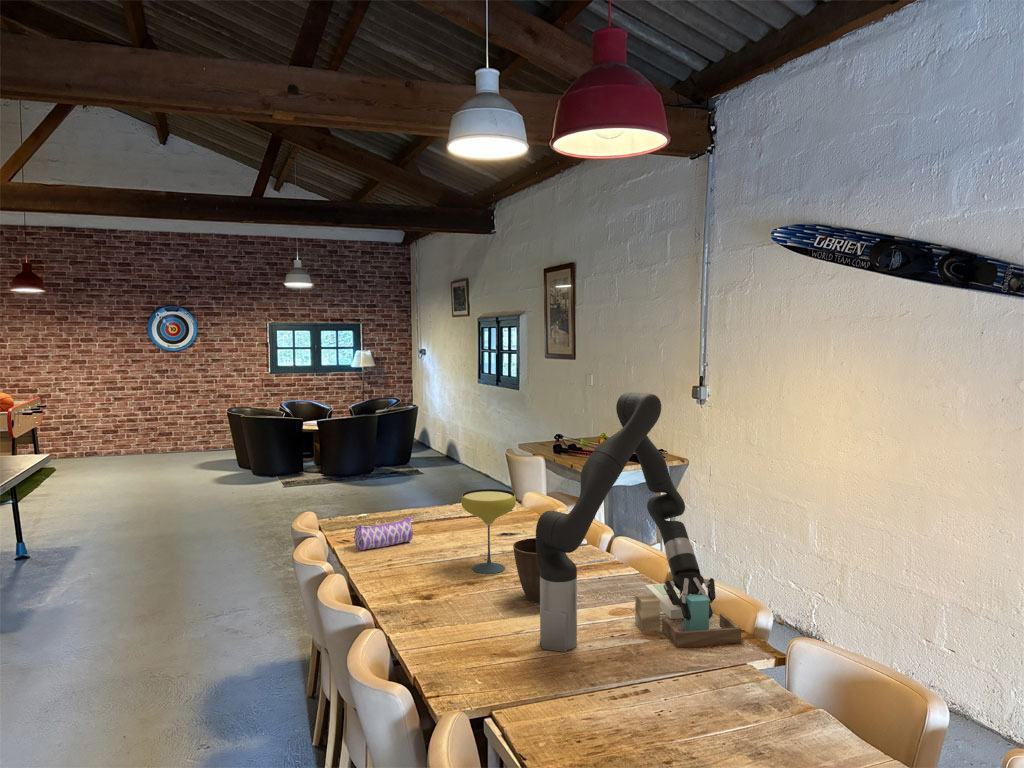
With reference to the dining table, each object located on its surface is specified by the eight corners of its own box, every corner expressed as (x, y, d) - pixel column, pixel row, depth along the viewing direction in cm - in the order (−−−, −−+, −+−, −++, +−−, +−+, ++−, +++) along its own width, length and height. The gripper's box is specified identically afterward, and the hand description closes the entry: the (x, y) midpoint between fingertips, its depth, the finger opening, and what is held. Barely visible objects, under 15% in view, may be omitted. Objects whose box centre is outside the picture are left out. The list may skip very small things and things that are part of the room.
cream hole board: (712, 616, 192) (712, 606, 192) (670, 619, 191) (670, 609, 190) (683, 590, 212) (683, 581, 212) (645, 592, 210) (645, 584, 210)
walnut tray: (741, 642, 176) (741, 628, 176) (677, 647, 173) (677, 633, 173) (723, 626, 186) (723, 613, 185) (662, 630, 183) (662, 617, 183)
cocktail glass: (518, 560, 241) (518, 489, 240) (513, 578, 223) (512, 501, 222) (466, 559, 243) (466, 488, 241) (457, 577, 225) (456, 500, 224)
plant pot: (560, 609, 197) (560, 554, 196) (508, 606, 200) (508, 551, 199) (566, 591, 212) (566, 539, 211) (518, 587, 215) (518, 536, 214)
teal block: (708, 634, 181) (709, 600, 180) (690, 635, 180) (690, 601, 179) (701, 627, 185) (701, 593, 184) (683, 628, 184) (683, 594, 184)
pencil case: (360, 554, 250) (359, 528, 250) (350, 547, 258) (350, 522, 257) (416, 543, 262) (415, 519, 262) (405, 538, 270) (405, 514, 270)
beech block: (659, 630, 183) (660, 600, 183) (641, 631, 183) (641, 601, 182) (652, 622, 188) (653, 593, 188) (635, 623, 188) (635, 594, 187)
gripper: (660, 553, 187) (677, 614, 176) (710, 550, 190) (730, 610, 179) (652, 566, 193) (668, 626, 182) (701, 563, 195) (720, 622, 184)
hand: (699, 618), depth 180 cm, fingers closed on teal block, 5 cm apart
